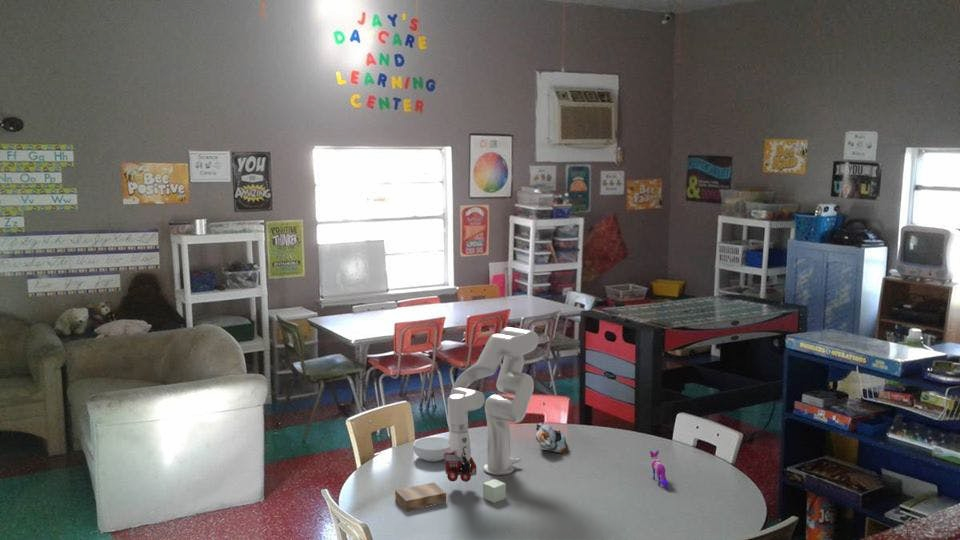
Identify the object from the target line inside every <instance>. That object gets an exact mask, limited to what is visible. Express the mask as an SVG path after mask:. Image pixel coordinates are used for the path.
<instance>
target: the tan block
mask: <svg viewBox="0 0 960 540" xmlns="http://www.w3.org/2000/svg"><path fill="white" fill-rule="evenodd" d="M394 492H395V493H394V499H395V501H396V502H397V503H398V505H399V506H401V507H402V509H403V510H404V509H405V510H406V511H405V510H404V511H405V512H410V511H409V510H411V511H415V510H414V509H416V510H418V509H417V508H420V509H423V508H422V507H425V508H427V507H426V506H430V505H434V504H435V505H434V506H437V505H436V504H439V505H441V504H440V503H443V504H445V503H444V502H446V503H447V492H446V491H445V490H444V489H443V488H441V486H440V485H438V484H437V483H435V482H429V483H424V484H419V485H418V484H417V485H414V486H409V487H404V488H397V489H395V491H394ZM430 507H431V506H430Z"/></svg>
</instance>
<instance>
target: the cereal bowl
mask: <svg viewBox="0 0 960 540" xmlns="http://www.w3.org/2000/svg"><path fill="white" fill-rule="evenodd" d="M412 446H413V452H414V454H415V455H416V457H418V458H419V459H422V460H424V461H425V460H426V461H425V462H428V461H430V462H429V463H436V461H437V462H440V461H442V460H444V454H445V453H450V446H449V439H448V438H446V437H439V436H430V437H429V436H428V437H424V438H420V439H417V440H415V441H414V442H413V445H412Z"/></svg>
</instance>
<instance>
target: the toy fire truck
mask: <svg viewBox="0 0 960 540" xmlns="http://www.w3.org/2000/svg"><path fill="white" fill-rule="evenodd" d="M463 455H465V454H463ZM463 455H462V456H463ZM463 459H464V460H465V459H466V457H464V458H463ZM443 460H444V462H445V474H446V475H447V476H446V477H447V479H448V481H449V482H456V481H457V480H458V478H459V477H460V480H461V481H463V483H466V482H469V481H471V478H472V476H473V477H474V476H476V474H477V464H476V463H475V460H474V459H473V457H472V456H471V457H470V463H469V469H470V472H468V473H464V474H462V472H461V464H462V461H461V458H460V457H458V456H457V455H455V454H454V453H445V454H444V459H443Z"/></svg>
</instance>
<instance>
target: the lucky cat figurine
mask: <svg viewBox="0 0 960 540" xmlns="http://www.w3.org/2000/svg"><path fill="white" fill-rule="evenodd" d="M535 429H536V433H535V439H536V442H537V443H538V444H539V448H540V450H541V451H549V452H555V453H559V454H563V453H565V452H567V451H568V450H569V449H570V447H569V444H568V443H567V440H566V436H565V434H564V433H562V432H561V430H560V429H557V430H556V429H555V428H554V429H553V427H552V426H551V425H549V424H544V423H543V422H540V423H539V424H536V427H535Z"/></svg>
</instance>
